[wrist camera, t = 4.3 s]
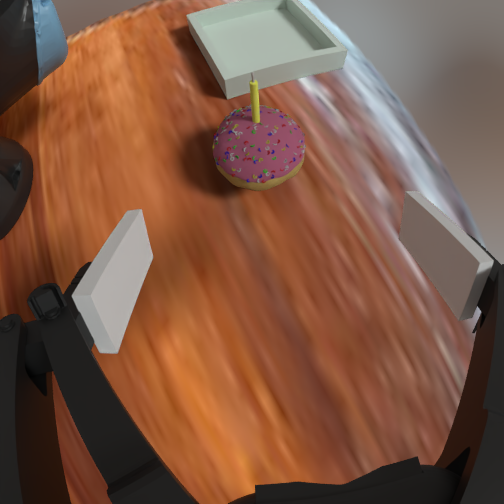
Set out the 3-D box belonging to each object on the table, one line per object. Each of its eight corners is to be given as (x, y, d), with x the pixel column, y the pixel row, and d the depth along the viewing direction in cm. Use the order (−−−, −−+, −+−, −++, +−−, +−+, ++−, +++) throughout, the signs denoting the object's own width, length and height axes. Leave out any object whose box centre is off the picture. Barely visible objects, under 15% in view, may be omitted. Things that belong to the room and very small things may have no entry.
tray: (190, 32, 38) (186, 15, 35) (287, 8, 40) (289, -8, 36) (227, 99, 35) (224, 80, 31) (342, 68, 36) (347, 50, 33)
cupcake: (211, 143, 34) (192, 65, 22) (287, 128, 34) (297, 48, 22) (226, 214, 32) (209, 151, 20) (310, 196, 32) (335, 128, 20)
